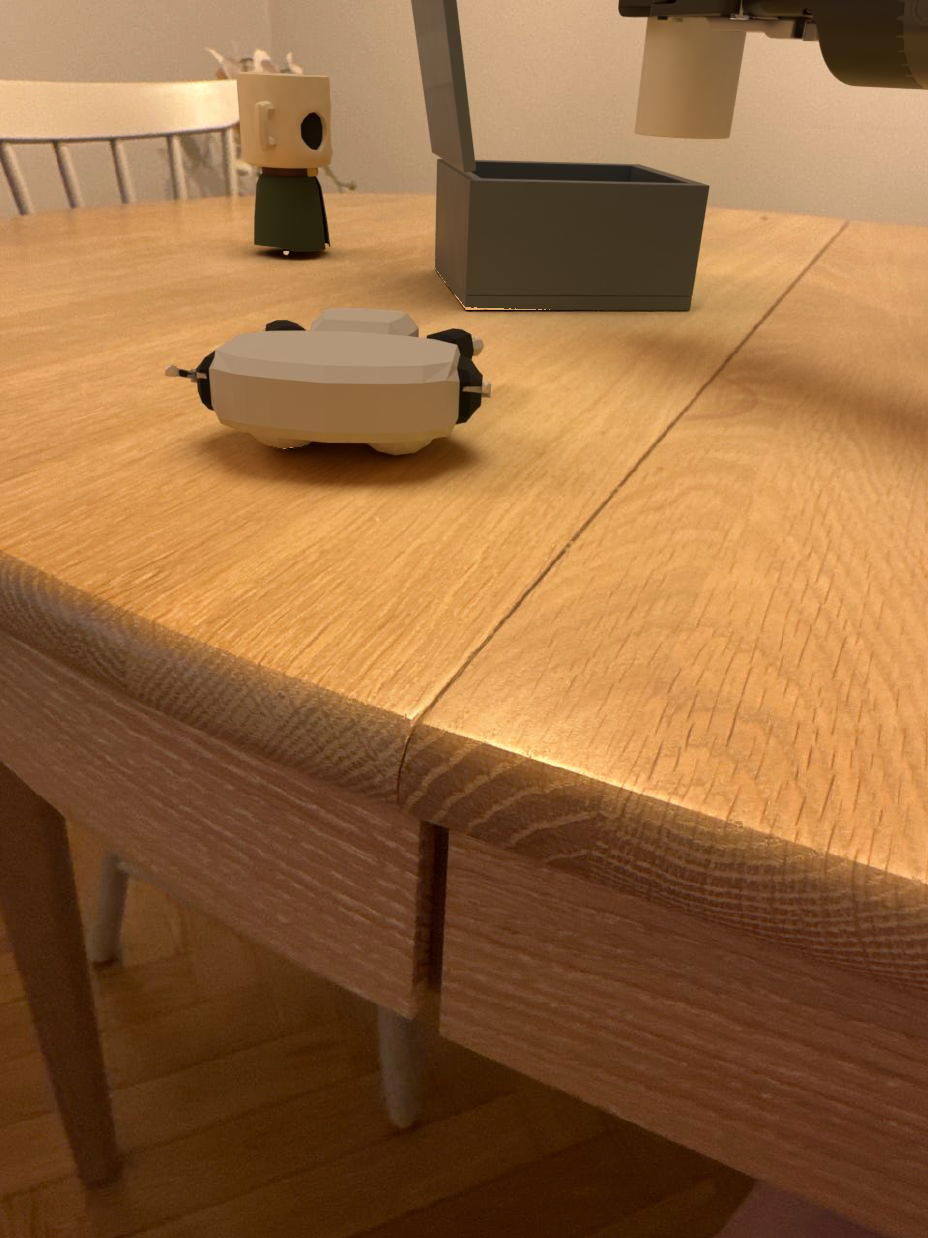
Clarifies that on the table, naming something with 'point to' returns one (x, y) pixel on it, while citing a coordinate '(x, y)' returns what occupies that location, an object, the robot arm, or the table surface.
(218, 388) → the robot toy
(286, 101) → the beige and green figure
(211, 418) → the table surface
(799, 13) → the robot arm
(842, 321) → the table surface
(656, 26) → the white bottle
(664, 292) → the dark grey open box
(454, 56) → the lid
